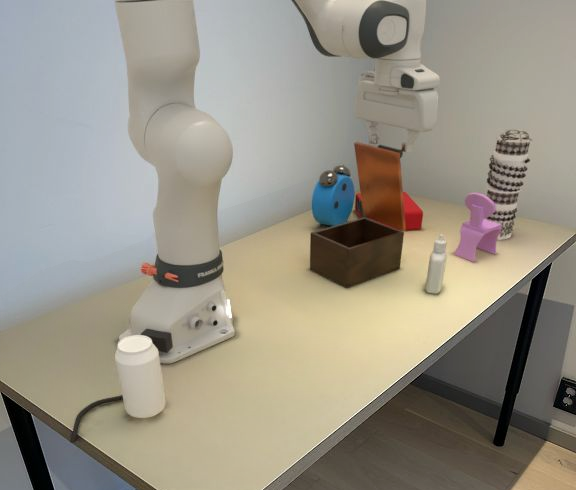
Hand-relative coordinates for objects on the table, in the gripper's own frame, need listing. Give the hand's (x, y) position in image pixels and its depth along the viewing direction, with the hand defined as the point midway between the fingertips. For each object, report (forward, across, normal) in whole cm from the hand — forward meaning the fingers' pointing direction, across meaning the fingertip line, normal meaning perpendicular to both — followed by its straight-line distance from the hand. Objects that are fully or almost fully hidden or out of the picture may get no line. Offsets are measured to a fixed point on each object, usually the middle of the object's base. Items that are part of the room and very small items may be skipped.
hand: (390, 147), depth 124 cm
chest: (+26, 0, -8) cm, 27 cm away
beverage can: (+25, +19, -70) cm, 77 cm away
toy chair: (+26, +11, +21) cm, 35 cm away
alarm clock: (+26, -25, +8) cm, 37 cm away
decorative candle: (+26, +6, +36) cm, 45 cm away
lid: (+8, 0, -2) cm, 8 cm away
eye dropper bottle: (+26, +18, -2) cm, 31 cm away
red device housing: (+26, -19, +22) cm, 39 cm away
